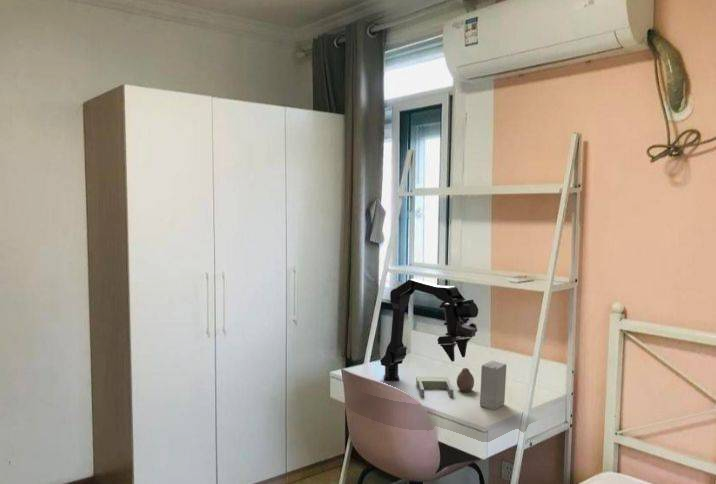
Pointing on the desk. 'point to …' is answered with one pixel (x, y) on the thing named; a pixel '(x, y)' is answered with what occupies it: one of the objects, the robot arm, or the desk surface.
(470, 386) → the brown oval solid
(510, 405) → the desk surface
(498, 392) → the skincare box
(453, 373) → the desk surface
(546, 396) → the desk surface
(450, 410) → the desk surface
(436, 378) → the green u-shaped bracket
